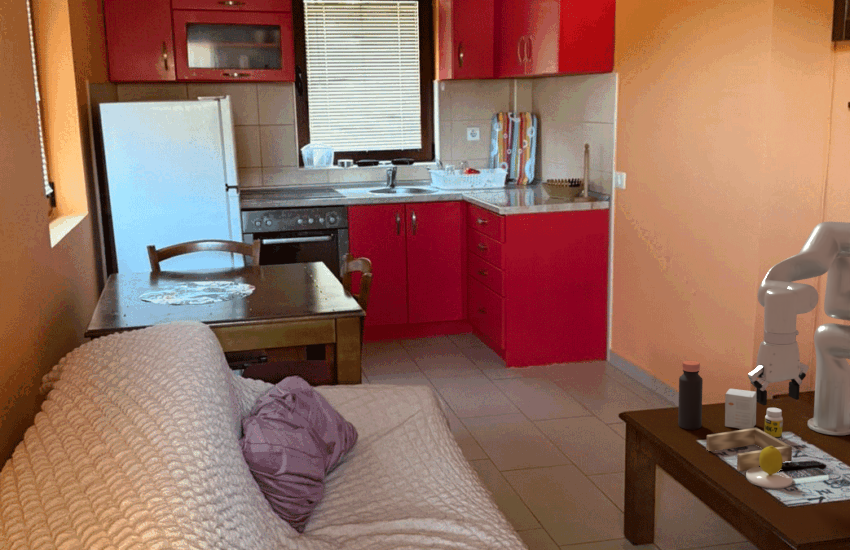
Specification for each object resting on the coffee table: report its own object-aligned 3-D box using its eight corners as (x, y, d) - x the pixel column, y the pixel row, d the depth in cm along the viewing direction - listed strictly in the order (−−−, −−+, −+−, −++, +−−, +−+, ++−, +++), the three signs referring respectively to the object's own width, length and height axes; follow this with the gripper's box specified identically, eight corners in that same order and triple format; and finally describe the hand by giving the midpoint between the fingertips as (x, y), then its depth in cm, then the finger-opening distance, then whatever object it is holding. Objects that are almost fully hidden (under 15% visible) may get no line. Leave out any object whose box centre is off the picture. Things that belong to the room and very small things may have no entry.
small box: (756, 424, 246) (757, 391, 244) (752, 431, 242) (753, 397, 240) (728, 420, 250) (729, 387, 249) (724, 426, 246) (725, 393, 244)
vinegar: (705, 428, 244) (707, 364, 241) (684, 431, 244) (685, 366, 240) (694, 421, 251) (696, 358, 247) (674, 423, 250) (675, 360, 246)
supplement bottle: (761, 437, 236) (762, 410, 235) (767, 433, 240) (768, 405, 238) (778, 441, 233) (779, 413, 231) (784, 436, 236) (785, 409, 235)
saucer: (773, 467, 216) (773, 464, 216) (802, 484, 206) (802, 481, 206) (737, 473, 214) (737, 470, 213) (764, 491, 203) (764, 487, 203)
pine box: (755, 442, 233) (756, 427, 232) (791, 462, 219) (792, 447, 218) (706, 450, 229) (706, 435, 228) (739, 471, 215) (740, 455, 214)
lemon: (784, 480, 207) (785, 450, 205) (760, 479, 208) (762, 449, 206) (779, 471, 212) (780, 442, 210) (756, 470, 213) (757, 441, 212)
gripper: (798, 329, 212) (796, 391, 216) (740, 337, 208) (739, 401, 211) (819, 336, 205) (816, 400, 208) (759, 345, 201) (758, 411, 204)
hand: (777, 400), depth 210 cm, fingers open, 9 cm apart
